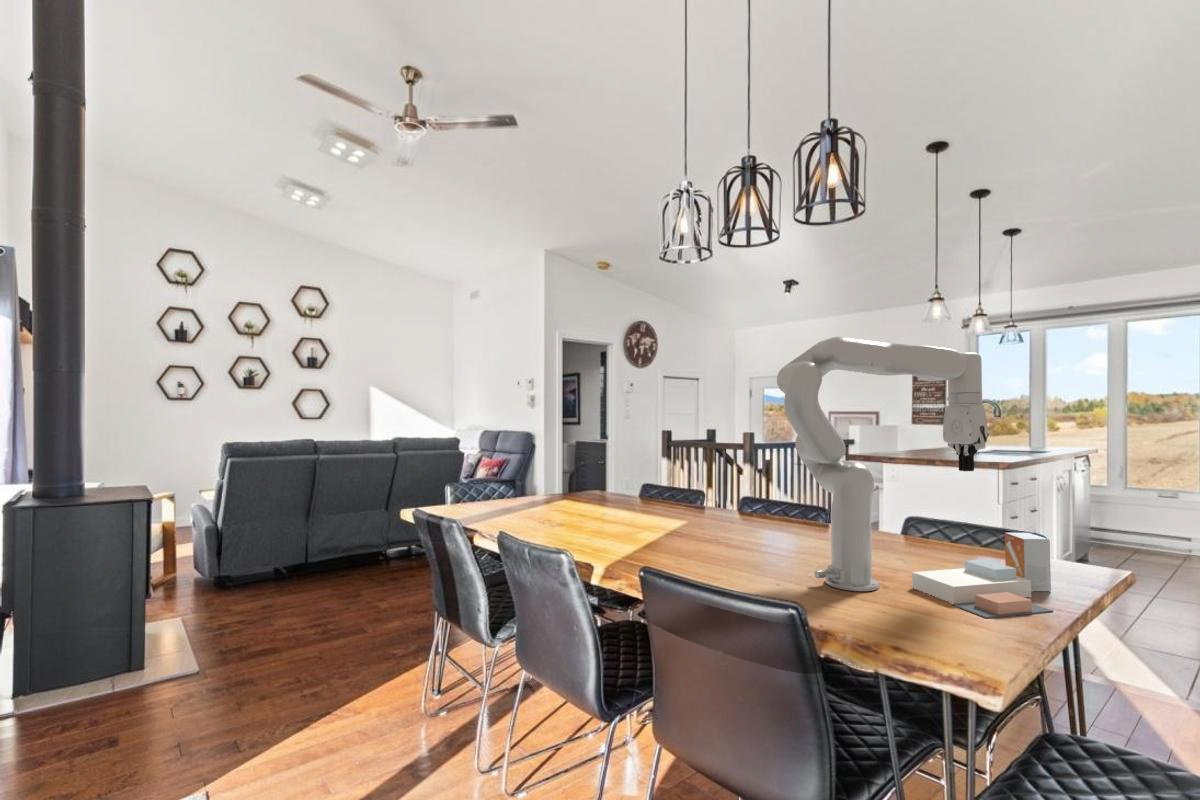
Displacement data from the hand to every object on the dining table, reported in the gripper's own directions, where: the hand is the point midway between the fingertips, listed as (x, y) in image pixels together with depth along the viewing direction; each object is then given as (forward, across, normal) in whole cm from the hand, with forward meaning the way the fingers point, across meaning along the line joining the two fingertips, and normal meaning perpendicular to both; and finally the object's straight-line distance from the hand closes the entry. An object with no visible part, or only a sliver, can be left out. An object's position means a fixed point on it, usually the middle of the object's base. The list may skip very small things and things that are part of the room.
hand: (966, 470), depth 153 cm
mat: (+29, +18, -9) cm, 35 cm away
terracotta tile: (+26, +19, -10) cm, 34 cm away
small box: (+29, +6, +12) cm, 32 cm away
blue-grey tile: (+25, +6, 0) cm, 26 cm away
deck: (+29, +6, -6) cm, 30 cm away
